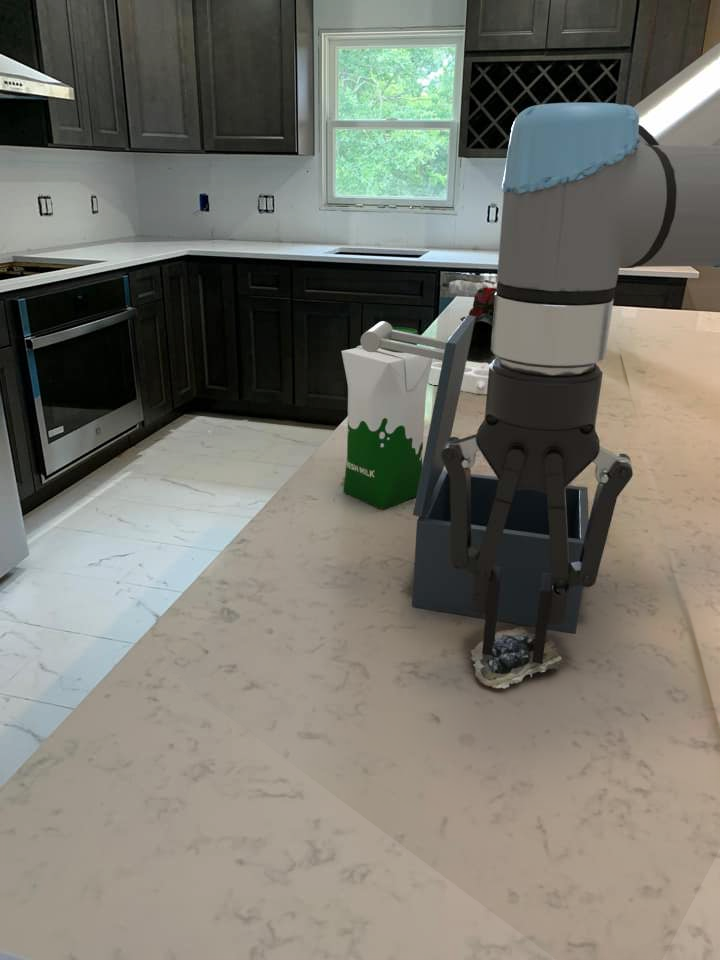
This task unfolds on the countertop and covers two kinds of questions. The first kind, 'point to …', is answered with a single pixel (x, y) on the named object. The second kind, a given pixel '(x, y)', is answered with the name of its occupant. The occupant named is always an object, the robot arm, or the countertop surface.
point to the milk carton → (385, 423)
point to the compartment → (516, 554)
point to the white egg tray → (466, 377)
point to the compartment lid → (445, 395)
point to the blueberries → (512, 658)
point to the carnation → (482, 326)
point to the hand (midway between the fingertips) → (513, 648)
